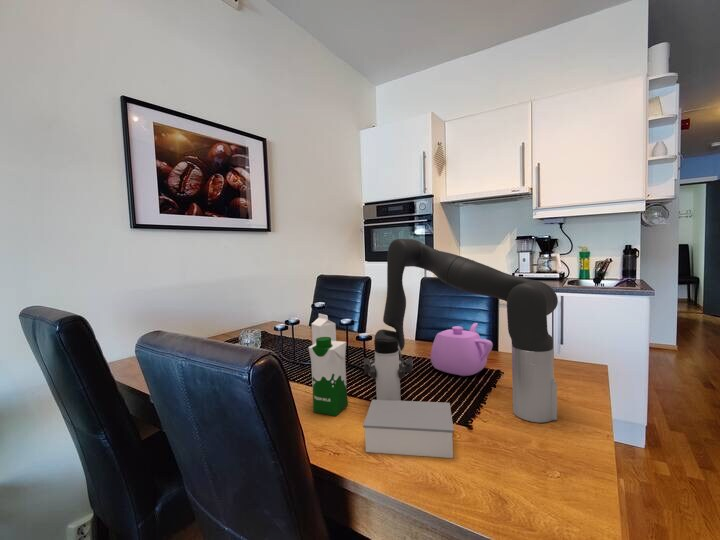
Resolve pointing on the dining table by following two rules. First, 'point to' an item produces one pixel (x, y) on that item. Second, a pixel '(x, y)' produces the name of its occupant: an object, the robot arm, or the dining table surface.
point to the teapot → (460, 351)
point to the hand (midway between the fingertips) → (387, 375)
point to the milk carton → (328, 376)
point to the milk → (323, 328)
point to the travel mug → (387, 369)
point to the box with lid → (409, 428)
